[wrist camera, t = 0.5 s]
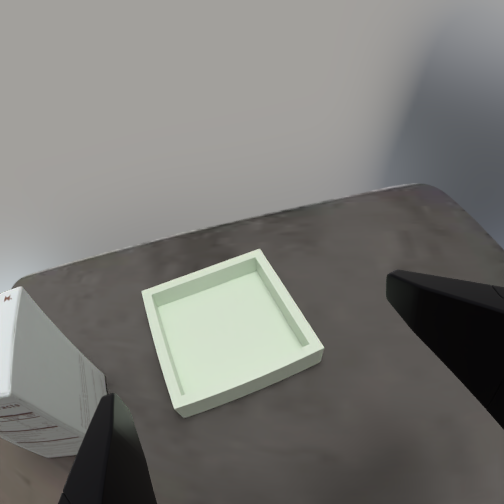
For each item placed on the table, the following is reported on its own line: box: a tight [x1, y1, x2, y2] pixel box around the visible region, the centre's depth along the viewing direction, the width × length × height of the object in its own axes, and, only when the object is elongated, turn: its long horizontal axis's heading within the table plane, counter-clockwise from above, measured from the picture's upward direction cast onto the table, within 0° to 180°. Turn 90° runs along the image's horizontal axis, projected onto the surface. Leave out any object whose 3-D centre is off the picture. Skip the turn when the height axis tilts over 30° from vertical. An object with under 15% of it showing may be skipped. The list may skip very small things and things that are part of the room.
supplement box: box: [0, 286, 107, 458], centre depth 17 cm, size 7×7×13 cm
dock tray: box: [142, 249, 324, 418], centre depth 26 cm, size 12×12×2 cm
